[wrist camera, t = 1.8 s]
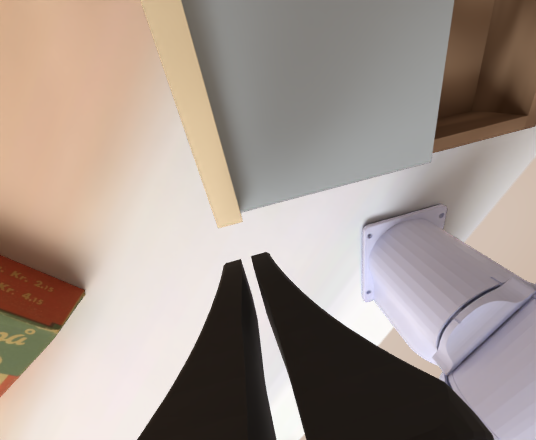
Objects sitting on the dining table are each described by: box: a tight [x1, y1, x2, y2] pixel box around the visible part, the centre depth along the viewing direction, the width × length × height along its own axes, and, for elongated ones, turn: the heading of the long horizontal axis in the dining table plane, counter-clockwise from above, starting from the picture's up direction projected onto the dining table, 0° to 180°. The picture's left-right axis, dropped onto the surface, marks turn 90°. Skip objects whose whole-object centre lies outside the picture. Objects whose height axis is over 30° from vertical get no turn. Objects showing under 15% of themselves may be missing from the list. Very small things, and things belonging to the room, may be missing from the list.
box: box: [432, 0, 536, 153], centre depth 13 cm, size 14×12×4 cm
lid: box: [140, 0, 454, 228], centre depth 10 cm, size 14×12×2 cm
